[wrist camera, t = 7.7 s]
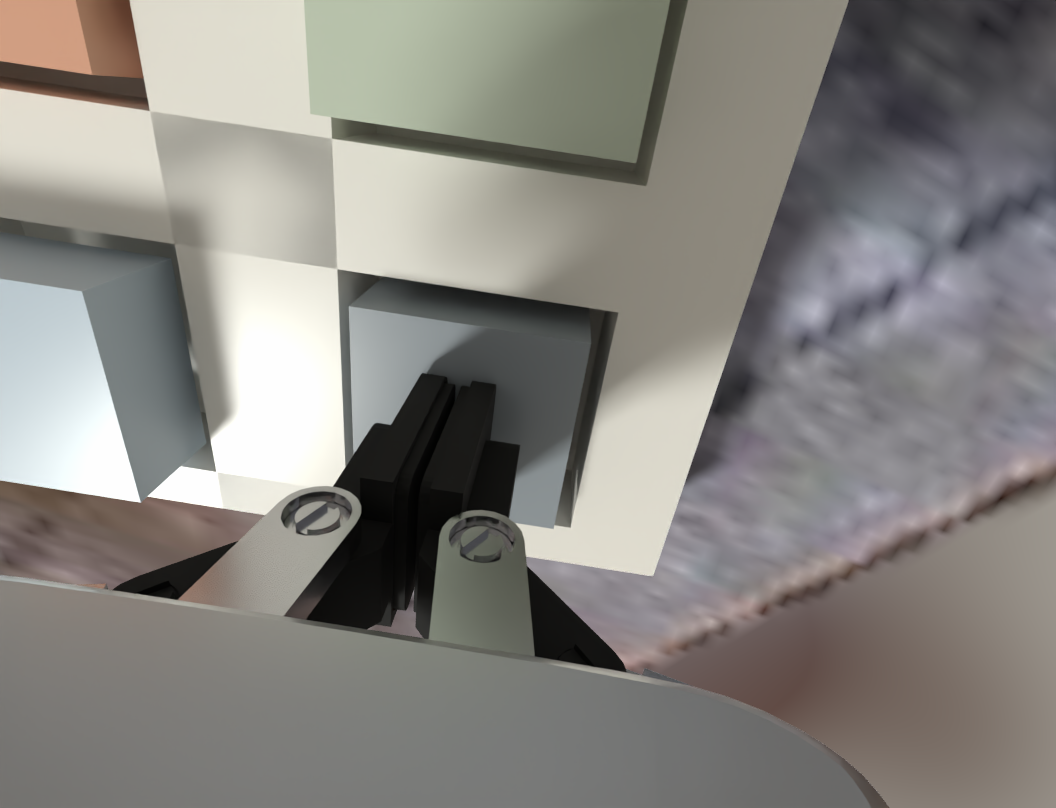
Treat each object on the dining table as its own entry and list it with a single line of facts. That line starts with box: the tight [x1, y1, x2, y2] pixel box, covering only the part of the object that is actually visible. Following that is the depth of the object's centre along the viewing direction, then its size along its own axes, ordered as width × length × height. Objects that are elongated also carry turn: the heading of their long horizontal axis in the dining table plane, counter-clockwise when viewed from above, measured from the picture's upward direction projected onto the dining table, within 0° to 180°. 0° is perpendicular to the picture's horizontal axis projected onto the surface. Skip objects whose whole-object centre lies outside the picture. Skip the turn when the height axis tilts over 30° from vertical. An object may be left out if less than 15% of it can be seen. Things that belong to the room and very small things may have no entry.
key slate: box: [349, 276, 591, 529], centre depth 13 cm, size 5×5×2 cm
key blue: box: [0, 232, 206, 502], centre depth 12 cm, size 5×5×2 cm
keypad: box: [0, 0, 849, 576], centre depth 12 cm, size 23×17×3 cm
